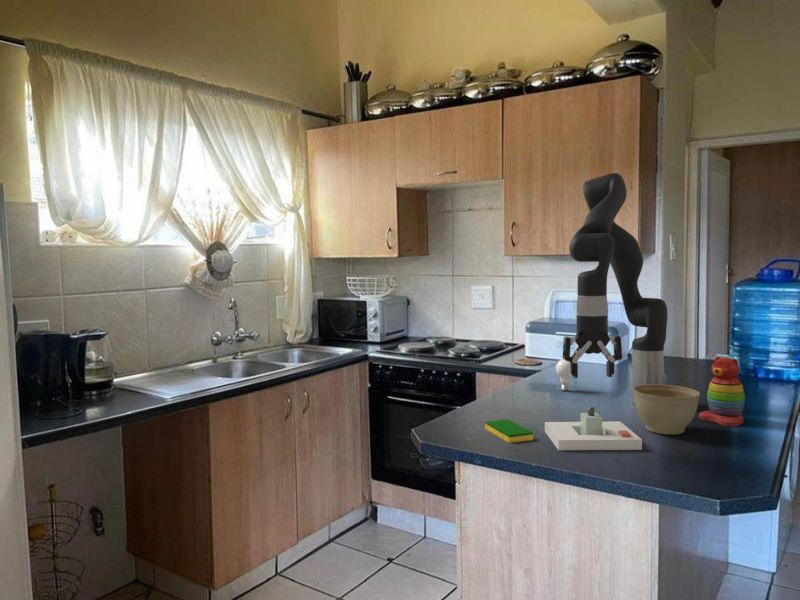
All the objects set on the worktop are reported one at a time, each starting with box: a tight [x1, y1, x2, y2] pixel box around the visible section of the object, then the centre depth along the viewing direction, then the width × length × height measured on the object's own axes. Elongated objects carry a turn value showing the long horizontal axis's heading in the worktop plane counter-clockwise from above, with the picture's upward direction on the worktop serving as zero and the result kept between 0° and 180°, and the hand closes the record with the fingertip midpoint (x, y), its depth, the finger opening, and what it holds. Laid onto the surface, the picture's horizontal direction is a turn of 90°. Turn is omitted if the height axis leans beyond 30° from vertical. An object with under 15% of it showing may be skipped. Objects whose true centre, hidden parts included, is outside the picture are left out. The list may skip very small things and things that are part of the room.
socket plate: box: [544, 420, 643, 451], centre depth 156 cm, size 20×16×3 cm
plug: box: [579, 406, 603, 435], centre depth 156 cm, size 4×5×8 cm
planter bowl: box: [633, 384, 700, 436], centre depth 163 cm, size 16×16×11 cm
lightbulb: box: [555, 358, 573, 392], centre depth 212 cm, size 6×6×11 cm
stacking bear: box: [698, 356, 746, 428], centre depth 171 cm, size 11×10×18 cm
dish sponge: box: [484, 418, 534, 444], centre depth 163 cm, size 7×14×2 cm, turn 19°
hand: (592, 377), depth 155 cm, fingers open, 8 cm apart
